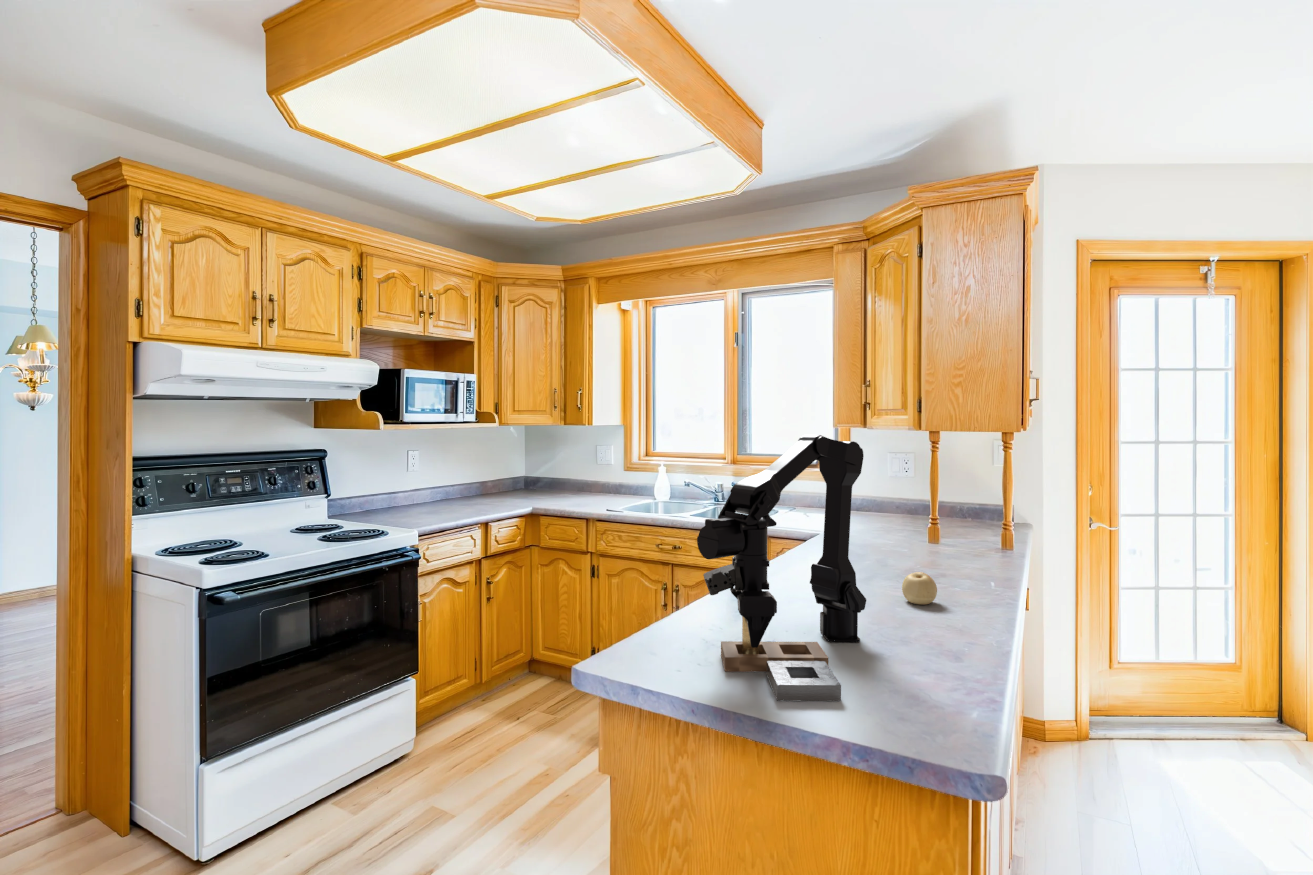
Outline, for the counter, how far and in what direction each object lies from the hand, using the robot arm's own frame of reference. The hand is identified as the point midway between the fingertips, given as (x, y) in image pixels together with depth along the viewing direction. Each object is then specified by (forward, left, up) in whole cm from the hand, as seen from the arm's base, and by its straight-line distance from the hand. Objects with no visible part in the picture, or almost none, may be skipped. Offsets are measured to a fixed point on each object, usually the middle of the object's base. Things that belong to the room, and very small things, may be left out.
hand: (750, 638), depth 115 cm
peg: (0, 0, -4) cm, 4 cm away
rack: (-4, 0, -4) cm, 6 cm away
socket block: (-7, +11, -4) cm, 13 cm away
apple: (-46, -39, -5) cm, 60 cm away
